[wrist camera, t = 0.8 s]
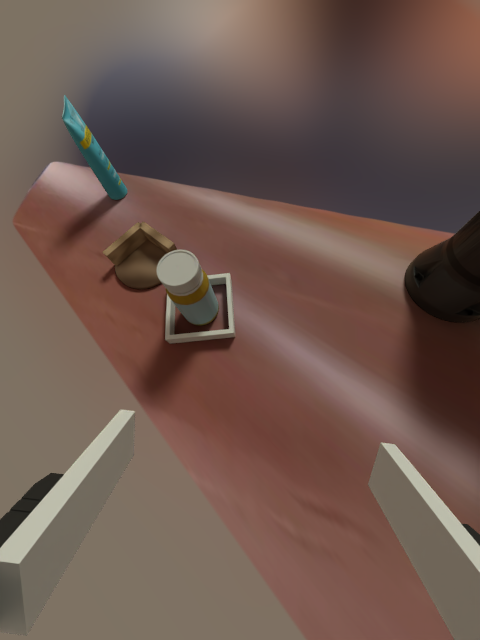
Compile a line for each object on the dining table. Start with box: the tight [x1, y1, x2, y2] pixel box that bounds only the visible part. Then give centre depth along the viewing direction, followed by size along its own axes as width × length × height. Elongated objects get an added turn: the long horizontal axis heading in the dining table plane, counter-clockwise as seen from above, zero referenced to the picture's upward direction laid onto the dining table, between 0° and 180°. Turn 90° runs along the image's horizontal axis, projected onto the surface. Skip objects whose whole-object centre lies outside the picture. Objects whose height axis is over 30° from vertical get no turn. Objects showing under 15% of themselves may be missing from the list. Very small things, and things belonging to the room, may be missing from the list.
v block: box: [103, 222, 177, 289], centre depth 52 cm, size 14×15×4 cm
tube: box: [62, 95, 127, 200], centre depth 54 cm, size 7×5×19 cm, turn 18°
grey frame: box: [165, 273, 235, 344], centre depth 47 cm, size 13×13×2 cm
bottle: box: [157, 250, 219, 325], centre depth 41 cm, size 7×7×15 cm
